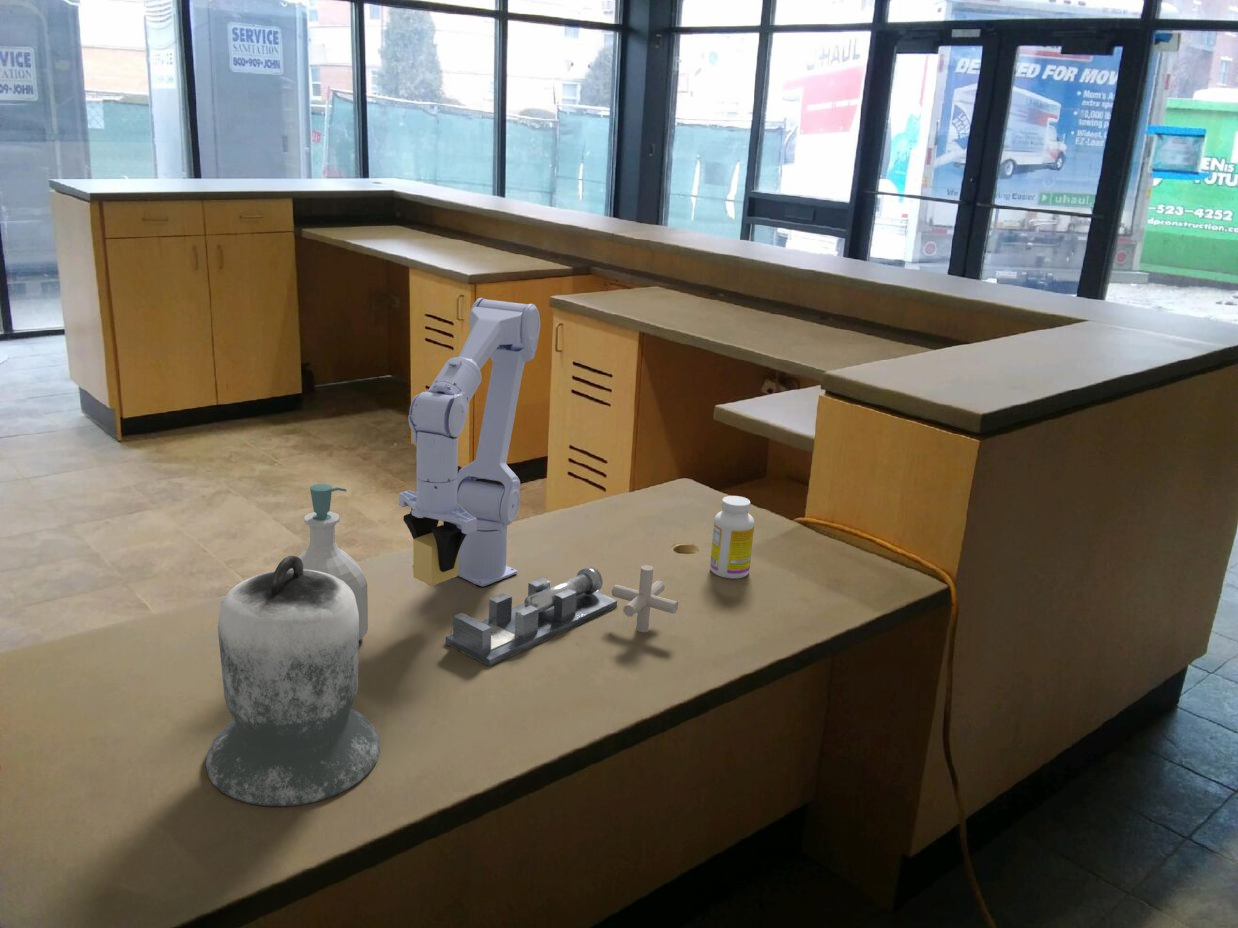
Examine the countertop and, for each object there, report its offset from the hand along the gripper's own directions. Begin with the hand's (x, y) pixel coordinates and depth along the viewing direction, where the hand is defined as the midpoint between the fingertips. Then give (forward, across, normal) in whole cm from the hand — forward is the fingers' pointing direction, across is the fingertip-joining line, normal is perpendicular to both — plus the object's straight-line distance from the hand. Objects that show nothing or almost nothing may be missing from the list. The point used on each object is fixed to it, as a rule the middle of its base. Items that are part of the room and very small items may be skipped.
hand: (436, 564), depth 155 cm
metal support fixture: (+9, +11, +9) cm, 17 cm away
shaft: (+8, +11, +15) cm, 20 cm away
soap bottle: (+9, -6, -15) cm, 19 cm away
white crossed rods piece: (+9, +23, +20) cm, 32 cm away
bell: (+9, +15, -34) cm, 38 cm away
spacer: (+2, 0, 0) cm, 2 cm away
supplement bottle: (+9, +20, +47) cm, 52 cm away
